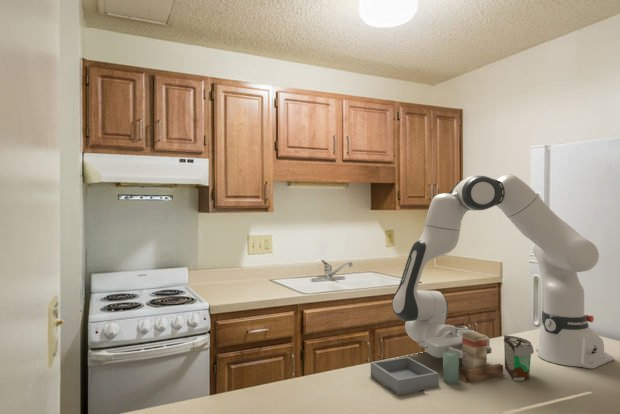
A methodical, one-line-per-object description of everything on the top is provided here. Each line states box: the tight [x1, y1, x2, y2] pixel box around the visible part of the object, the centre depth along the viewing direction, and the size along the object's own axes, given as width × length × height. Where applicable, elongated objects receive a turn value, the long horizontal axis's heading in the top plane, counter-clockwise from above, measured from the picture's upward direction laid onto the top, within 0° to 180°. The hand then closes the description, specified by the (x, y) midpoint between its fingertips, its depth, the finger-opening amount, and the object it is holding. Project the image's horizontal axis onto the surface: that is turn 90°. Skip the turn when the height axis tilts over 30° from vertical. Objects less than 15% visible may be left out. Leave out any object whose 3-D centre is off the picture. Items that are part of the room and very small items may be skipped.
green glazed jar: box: [442, 352, 460, 386], centre depth 115 cm, size 4×4×8 cm
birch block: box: [461, 330, 488, 370], centre depth 120 cm, size 5×5×11 cm
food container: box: [503, 335, 535, 383], centre depth 119 cm, size 12×6×10 cm, turn 168°
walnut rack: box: [459, 363, 507, 384], centre depth 120 cm, size 14×9×4 cm, turn 112°
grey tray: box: [370, 356, 440, 397], centre depth 116 cm, size 13×14×4 cm
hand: (476, 353), depth 120 cm, fingers open, 8 cm apart
